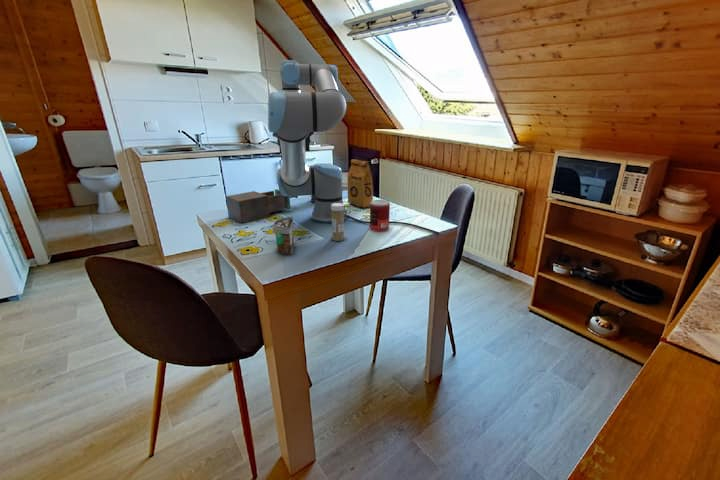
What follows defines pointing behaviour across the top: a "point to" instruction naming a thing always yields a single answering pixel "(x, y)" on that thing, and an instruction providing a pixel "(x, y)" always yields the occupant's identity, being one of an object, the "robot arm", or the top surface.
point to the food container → (284, 235)
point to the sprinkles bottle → (337, 221)
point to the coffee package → (360, 184)
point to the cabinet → (247, 206)
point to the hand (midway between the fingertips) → (295, 152)
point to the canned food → (379, 215)
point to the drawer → (278, 201)
